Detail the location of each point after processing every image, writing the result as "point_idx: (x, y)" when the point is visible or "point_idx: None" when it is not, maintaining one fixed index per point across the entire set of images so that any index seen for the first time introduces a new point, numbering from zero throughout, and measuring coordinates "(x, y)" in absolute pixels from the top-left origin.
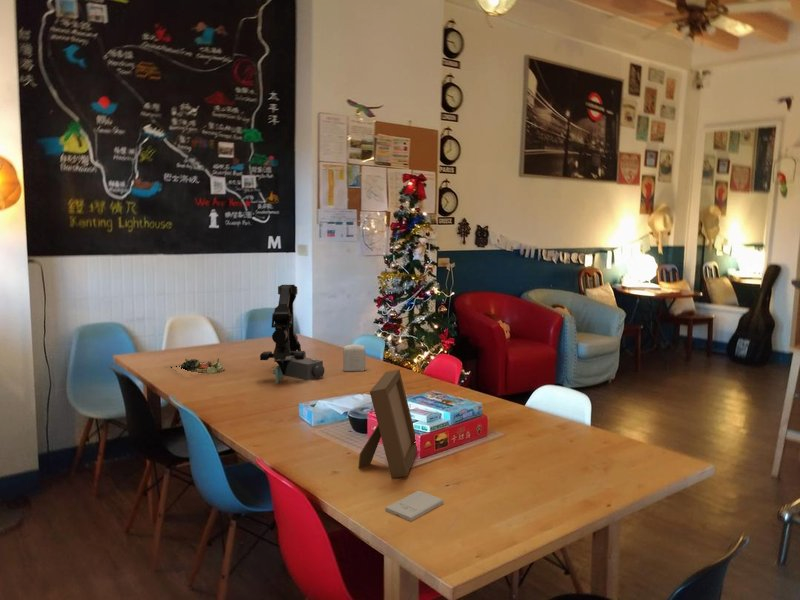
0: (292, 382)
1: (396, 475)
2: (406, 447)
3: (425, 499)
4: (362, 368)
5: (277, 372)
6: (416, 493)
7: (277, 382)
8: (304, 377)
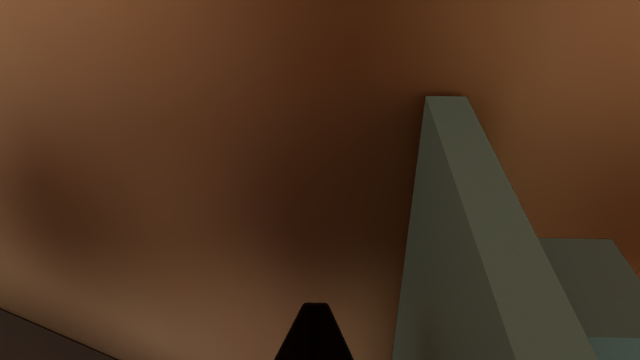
0: (152, 179)
1: None
2: None
3: None
4: None
5: (476, 275)
6: None
7: (430, 104)
8: (23, 350)
